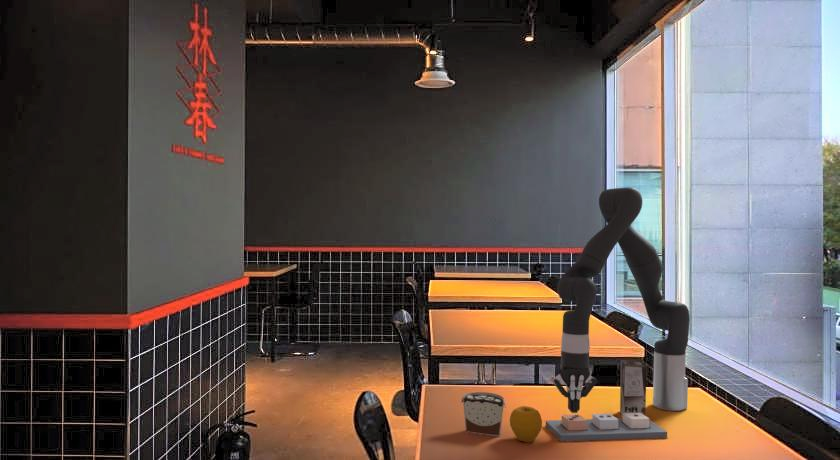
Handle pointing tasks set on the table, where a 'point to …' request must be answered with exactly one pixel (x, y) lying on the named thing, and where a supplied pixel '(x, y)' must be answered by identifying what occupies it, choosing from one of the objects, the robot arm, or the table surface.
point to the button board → (605, 432)
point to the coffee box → (633, 387)
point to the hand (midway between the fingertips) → (573, 411)
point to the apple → (526, 423)
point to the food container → (483, 412)
